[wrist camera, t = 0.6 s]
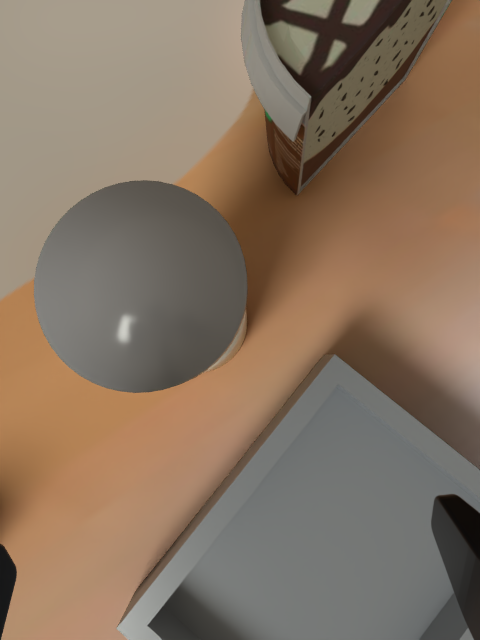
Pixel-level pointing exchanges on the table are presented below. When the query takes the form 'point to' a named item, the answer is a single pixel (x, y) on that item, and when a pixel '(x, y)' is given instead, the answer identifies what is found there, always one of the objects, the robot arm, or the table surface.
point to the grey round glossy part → (142, 287)
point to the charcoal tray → (317, 530)
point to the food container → (328, 70)
